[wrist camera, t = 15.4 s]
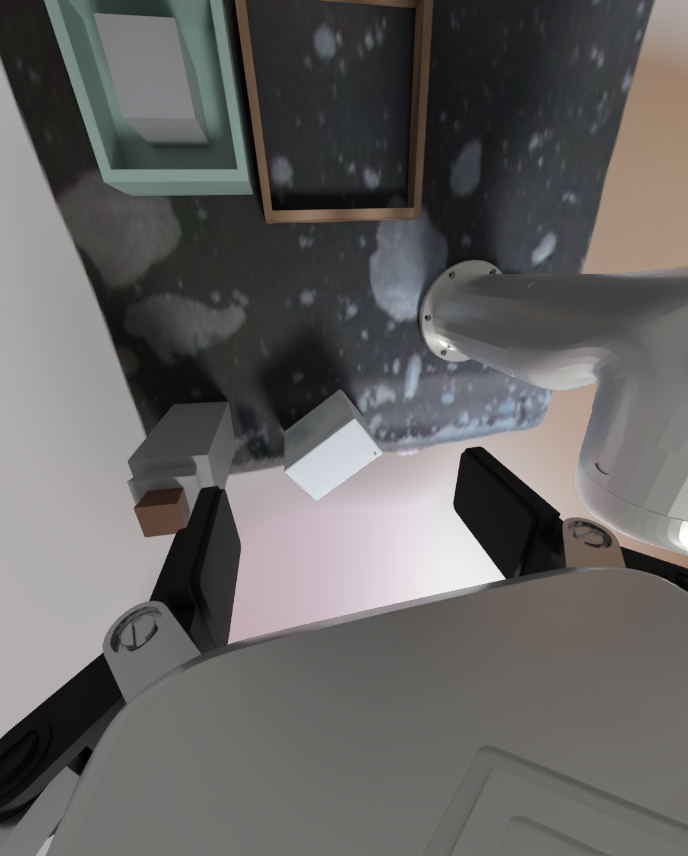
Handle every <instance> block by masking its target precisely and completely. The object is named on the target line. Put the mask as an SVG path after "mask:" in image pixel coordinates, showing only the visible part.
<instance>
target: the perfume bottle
mask: <svg viewBox="0 0 688 856" xmlns="http://www.w3.org/2000/svg"><path fill="white" fill-rule="evenodd" d="M235 446H236V444H235V438H234V432H233V426H232V419H231V413H230V407H229V402H209V403H188V404H173V406H172V407H171V408H170V409H169V411H168V412H167V413H166V414H165V416H164V417H163V418H162V419H161V420H160V422H159V423H158V424H157V425H156V427H155V428H154V429H153V430H152V432H151V433H150V434H149V435H148V436H147V438H146V439H145V440H144V442H143V443H142V444H141V445H140V446H139V448H138V449H137V450H136V451H135V453H134V454H133V455H132V456H131V457H130V459H129V460H128V464H129V466H130V469H131V472H132V475H133V478H132V479H130V480H129V481H128V482H127V483H128V485H129V488H130V491H131V493H132V496H133V499H134V501H135V504H136V506H135V507H134V510H135V513H136V515H137V518H138V520H139V523H140V526H141V528H142V531H143V533H144V536H145V537H151V536H160V535H168V534H176V533H177V531H178V530H179V529H182V528H186V527H187V524H188V521H189V519H190V516H191V513H192V511H193V508H194V505H195V502H196V500H197V497H198V494H199V491H200V489H201V488H205V487H212V486H219V488H220V489H225V486H226V482H227V478H228V474H229V470H230V466H231V462H232V458H233V454H234V450H235Z"/></svg>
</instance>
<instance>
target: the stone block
mask: <svg viewBox="0 0 688 856" xmlns="http://www.w3.org/2000/svg"><path fill="white" fill-rule="evenodd" d="M93 14H94V17H95V21H96V24H97V28H98V31H99V35H100V38H101V42H102V45H103V49H104V52H105V55H106V59H107V62H108V66H109V69H110V73H111V76H112V80H113V83H114V87H115V90H116V93H117V97H118V100H119V104H120V107H121V111H122V114H123V118H124V119H125V120H126V121H127V122H128V123H129V124H130V125H131V126H132V127H133V128H134V129H135V130H136V131H137V132H138V133H139V134H140V135H141V136H142V137H143V138H144V139H145V140H146V141H147V142H148V143H149V144H150V145H151V146H152V147H153V148H211V144H210V139H209V134H208V129H207V124H206V119H205V114H204V109H203V104H202V99H201V94H200V89H199V83H198V78H197V73H196V69H195V67H194V64H193V62H192V60H191V57H190V55H189V52H188V50H187V47H186V45H185V42H184V40H183V37H182V35H181V33H180V30H179V28H178V25H177V23H176V20H175V18H169V17H152V16H135V15H118V14H101V13H93Z"/></svg>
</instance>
